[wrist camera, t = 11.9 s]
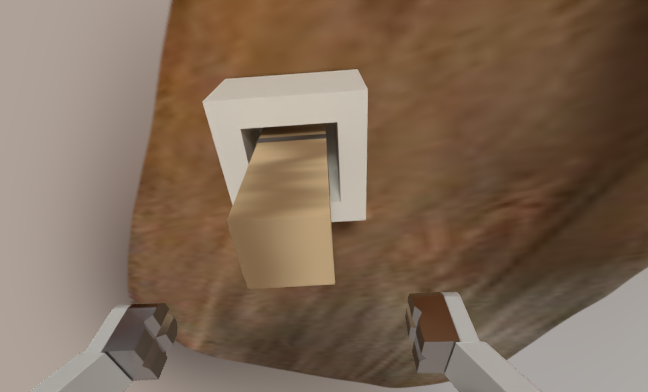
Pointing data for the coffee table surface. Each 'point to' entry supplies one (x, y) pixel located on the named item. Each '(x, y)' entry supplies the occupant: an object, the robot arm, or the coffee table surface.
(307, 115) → the socket board
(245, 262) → the oak peg
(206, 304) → the coffee table surface
